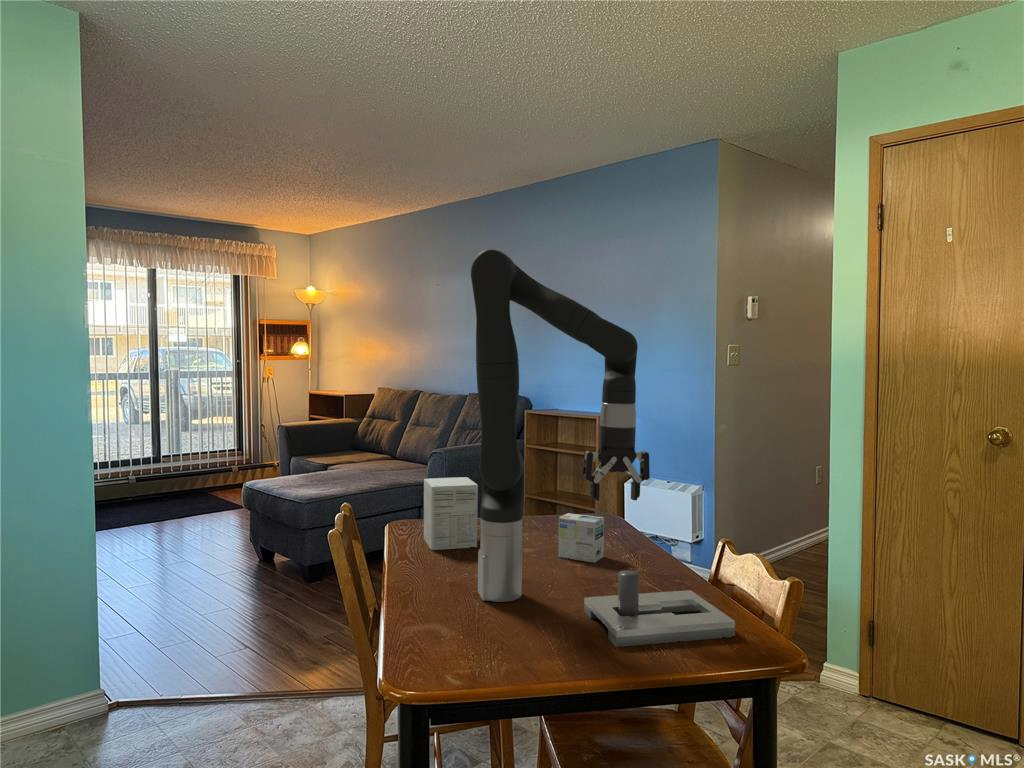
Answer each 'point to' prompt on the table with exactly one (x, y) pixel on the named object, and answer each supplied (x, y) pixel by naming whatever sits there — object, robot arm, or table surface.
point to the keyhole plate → (660, 619)
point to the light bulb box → (581, 537)
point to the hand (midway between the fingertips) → (615, 499)
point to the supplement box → (450, 513)
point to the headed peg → (628, 593)
